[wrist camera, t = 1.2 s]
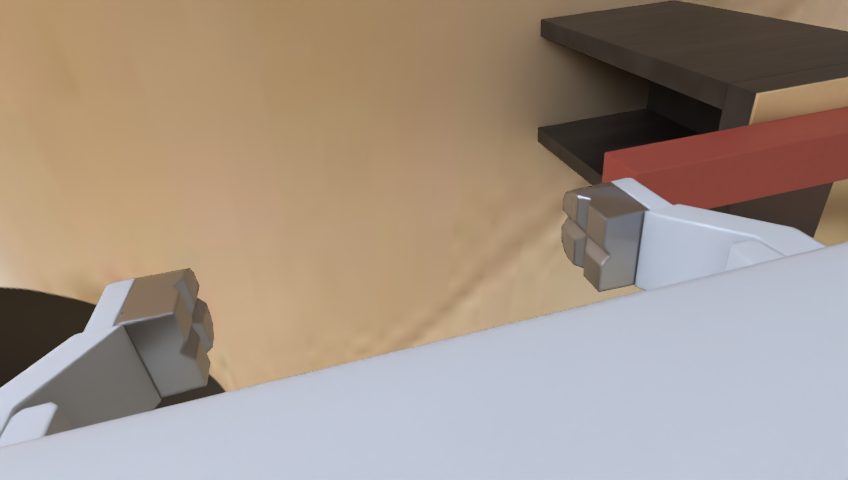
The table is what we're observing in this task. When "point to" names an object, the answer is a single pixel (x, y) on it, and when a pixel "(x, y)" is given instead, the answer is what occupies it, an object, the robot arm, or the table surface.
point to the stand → (710, 92)
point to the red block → (739, 161)
